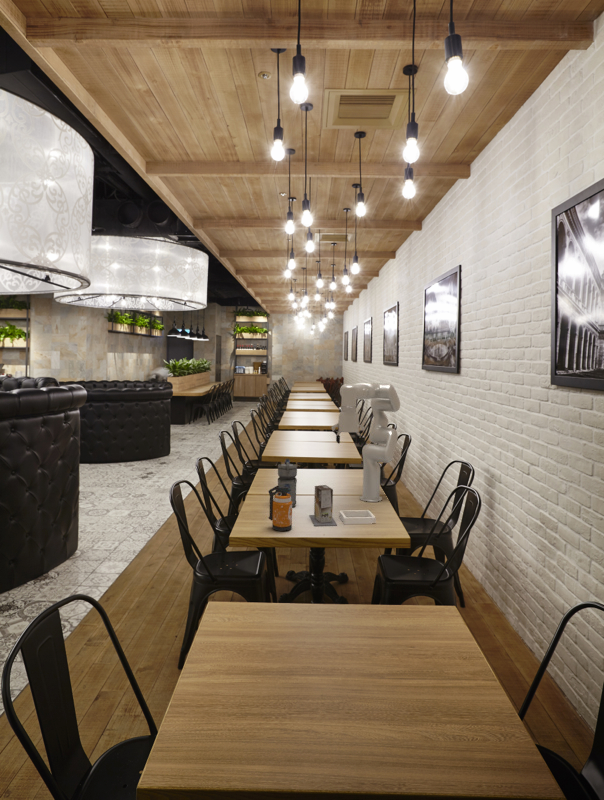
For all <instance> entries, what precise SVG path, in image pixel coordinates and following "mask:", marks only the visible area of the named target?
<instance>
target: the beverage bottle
mask: <svg viewBox="0 0 604 800" xmlns="http://www.w3.org/2000/svg"><path fill="white" fill-rule="evenodd" d="M290 462H291V461H290V458H285V460H284V463H282V464H279V463H278V465H277V475H278V478H277V485H278V486H280V487H289V488H291V491H290V492H288V493H287V494H290V495H291V501H292V508H294V507H295V506H296V505H297V483H298V481H297V480H298V479H297V478H296V477H297V475H298V465H297V464H293V463H290Z"/></svg>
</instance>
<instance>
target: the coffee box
mask: <svg viewBox="0 0 604 800" xmlns="http://www.w3.org/2000/svg"><path fill="white" fill-rule="evenodd" d="M333 498H334V488H331V487H329V486H328V485H326V484H325V485H323V484H322V485H321V484H320V485H315V486H314V507H313V512H314V514H313V515H314V518H315V519H317V520H318V521H319V522H320V523H325V522H332V517H333V508H334V507H333V501H334V499H333Z"/></svg>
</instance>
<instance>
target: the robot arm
mask: <svg viewBox="0 0 604 800" xmlns="http://www.w3.org/2000/svg"><path fill="white" fill-rule="evenodd" d="M339 395H340V397H341V406H340V407H338V411H340V412H339V415H338V423H336V424H334V425H331V430H332V432H333V433H334V434H335V435H336V436H335V438H336V439H335V440H336V441H335V442H336V443H337V444H340V443H341V441H340V440H341V436H340V435H341V433H355V434H356V435H355V443H356V444H359V442H360V436H361V435H362V434H363V433H364V430H365V429H366V427H365V426H364V425H362V424H360V422H359V413H358V412H357V400H370V407H371V411H372V412H371V413H372V414H373V421H372V425H371V428H370V430H369V431H370V433H369V437H368V438H369V441H370V442H371V443H367V444H365V445H363V447H362V451H361V453H362V462H363V470H362V471H363V472H362V474H363V477H362V494H361V495H360V496H359V499H360V500H361V501H363V502H366V501H367V502H368V503H379V502H381V500H382V501H383V497H382V496H380V492H381V491H380V490H381V467H380V464H379V463H383V464H389V463H391V462H392V461H393V458H394V455H395V451H396V447H397V444H398V443H397V442H398V437H399V436H398V431H397V430H396V429H395V428H392V427H388V424H389V419H388V417H387V415H386V414H385V412H389V413H396V412H398V411H399V410H400V408H401V401H400V397H399V396H398V393H397V391H396V389H395V387H394V386H393V384H391V383H383V382H382V383H381V382H380V383H379V382H373V383H372V382H371V383H370V382H369V383H368V382H366V383H344V384H342V385H341V386H340V389H339ZM336 428H337V430H336ZM378 501H379V502H378Z"/></svg>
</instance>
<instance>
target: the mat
mask: <svg viewBox="0 0 604 800" xmlns="http://www.w3.org/2000/svg"><path fill="white" fill-rule="evenodd" d="M308 517H309V518H310V520H311V523H312V524H314V525H313V527H338V524H337V522H336V521H335V519H334V517H333V516H332V522H325V523H320V522H319V521H318V520H317V519H315V518H314V514H309V515H308Z"/></svg>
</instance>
